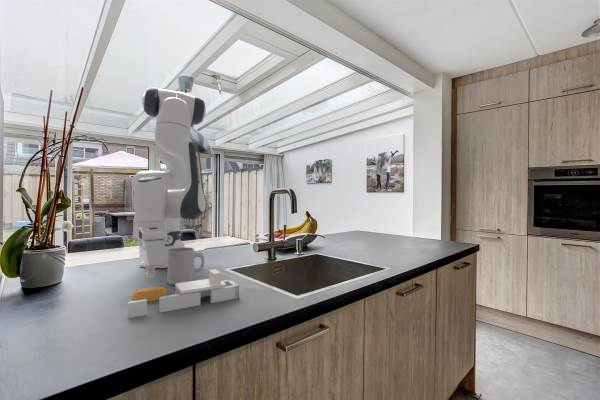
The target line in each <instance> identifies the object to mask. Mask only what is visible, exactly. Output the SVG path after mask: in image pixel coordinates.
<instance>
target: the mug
mask: <svg viewBox="0 0 600 400" xmlns="http://www.w3.org/2000/svg"><path fill="white" fill-rule="evenodd" d="M196 258H200V261H201V262H200V263H201V264H200V266H199V267H195V259H196ZM204 267H205V257H204V255H203V253H201V252H196V251H195V248H193V247H181V248H172V249H169V250H168V267H167V276H166V277H167V278H166V279H167V284H169V285H171V286H175V283H182V282H189V281H195V273H200V272H202V271H203V269H204Z"/></svg>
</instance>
